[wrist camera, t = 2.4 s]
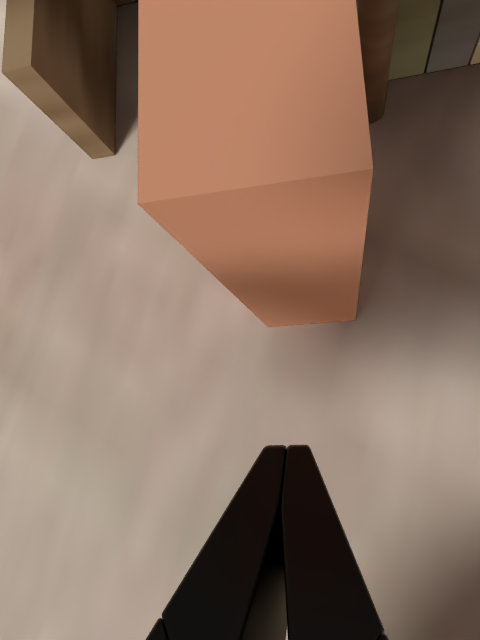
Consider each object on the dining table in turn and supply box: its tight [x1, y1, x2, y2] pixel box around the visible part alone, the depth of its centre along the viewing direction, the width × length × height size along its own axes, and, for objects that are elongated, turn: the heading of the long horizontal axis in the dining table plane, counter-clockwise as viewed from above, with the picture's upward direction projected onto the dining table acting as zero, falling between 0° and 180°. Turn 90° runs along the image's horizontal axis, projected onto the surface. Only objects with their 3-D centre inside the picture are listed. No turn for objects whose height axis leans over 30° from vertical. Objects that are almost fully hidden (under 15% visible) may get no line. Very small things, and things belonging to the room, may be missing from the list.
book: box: [138, 0, 373, 327], centre depth 13 cm, size 8×4×12 cm, turn 2°
